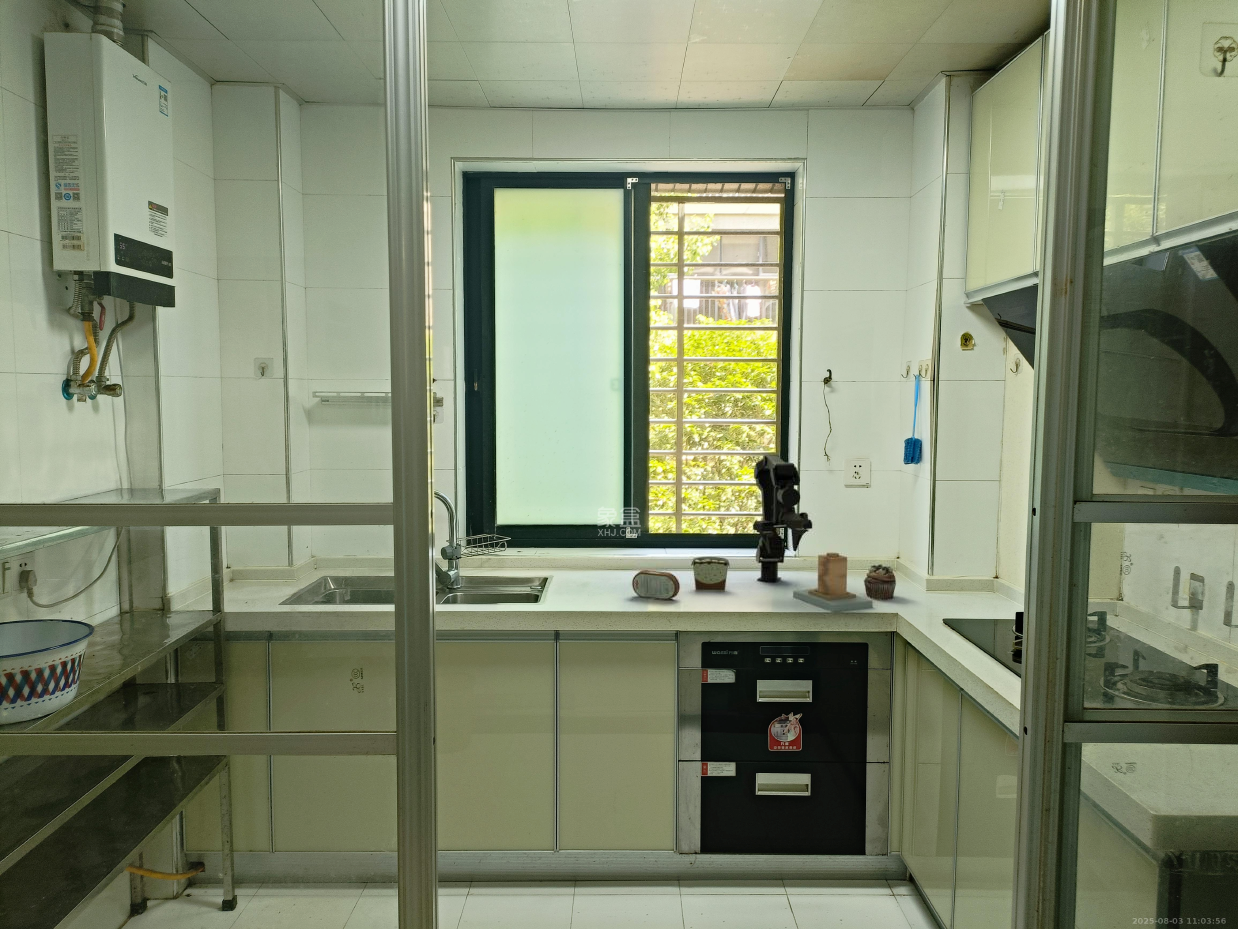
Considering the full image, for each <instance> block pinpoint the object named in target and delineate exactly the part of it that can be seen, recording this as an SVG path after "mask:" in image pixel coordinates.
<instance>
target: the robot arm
mask: <svg viewBox="0 0 1238 929" xmlns="http://www.w3.org/2000/svg"><path fill="white" fill-rule="evenodd" d="M798 470H799V469H797V467H796V465H795V464H794V462H786V461H784V460H782V459H781V458H780V455H779V454H776V453H775V454H773V453H771V454H770V453H769V454H767V453H766V454H763V456H762V458H761V459H760V460H759V461H757V462H756V464H755V467H754V469H753V479H755V485H756V486H757V488H758V489H759V491H760V494H761V495H760V497H761V512H762V513H761V514H762V516H761V517H762V519H761V520H755V521H754V523H753V524H752V530H753V531H756V533H757V534H759V535H760V539H759V540H758V543H759V544H758V546H757V548H756V553H755V561H756V562H757V563H758V564H760V577H758V578H757V579H756V581H759V580H760V581H761V582H768V581H770V582H771V583H776V581H777V582H778V580H779V581H780V580H782V577H779V564H783V563H785V553H786V548H785V546H784V544H783V538H782V536H781V535H780V534H779V533H778V530H777V529H783V528H785V529H786V528H787V529H788V530H790V531H791V543H792V544H791V545H792V550H793V551H794V552H796V551H797V550H798V547H799V545H800V542H801V539H802V537H803V535H804V534H806V533H807V532H809V531H810V530H811V529H813V522H812V520H811V519H809V514H808V512H806V511H805V512H804V511H802V512H800V513H797V512H796V505H798V504H799V503H800V500H801V494H800V492H799V491H798V489H796V488H795V486H800V482H801V479H800V475H799V474H800V473H799V471H798Z"/></svg>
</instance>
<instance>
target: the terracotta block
mask: <svg viewBox="0 0 1238 929" xmlns="http://www.w3.org/2000/svg"><path fill="white" fill-rule="evenodd" d="M847 580H848V557H847V556H844V555H842V554H841V555H840V553H838V552H826V554H819V555H818V557H817V588H818V593H821V594H824V595H827V596H837V595H846V593H847V592H848V591H847V586H848V584H847V582H848V581H847Z"/></svg>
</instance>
